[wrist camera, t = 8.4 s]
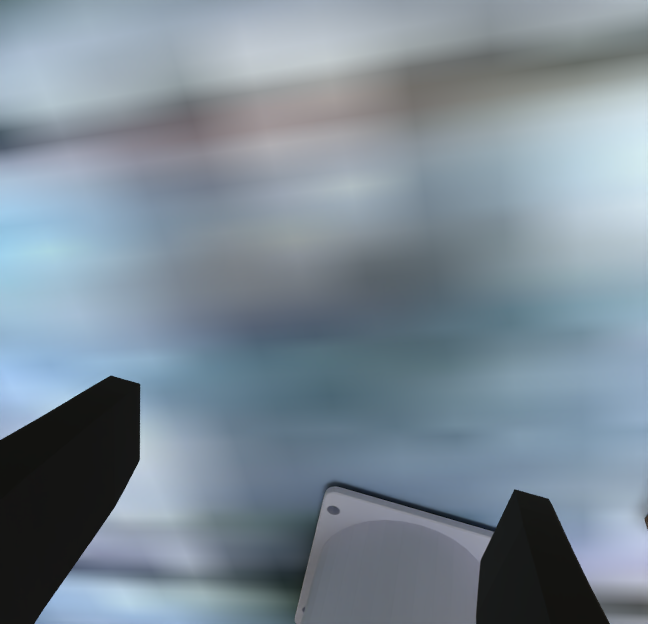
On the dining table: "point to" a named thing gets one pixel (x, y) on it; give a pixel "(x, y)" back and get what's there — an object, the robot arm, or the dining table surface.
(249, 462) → the dining table surface
